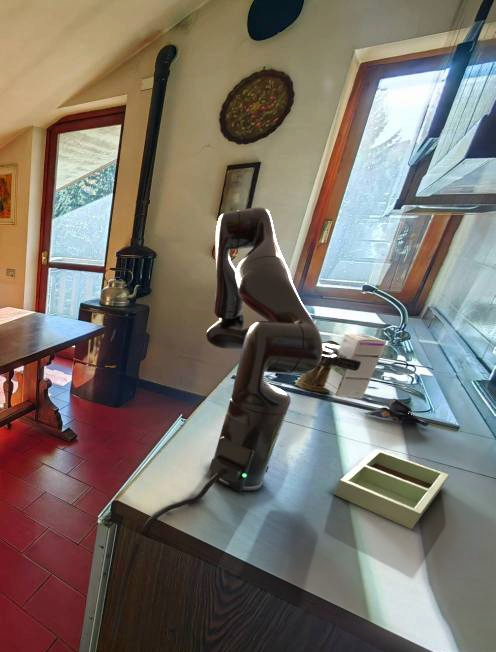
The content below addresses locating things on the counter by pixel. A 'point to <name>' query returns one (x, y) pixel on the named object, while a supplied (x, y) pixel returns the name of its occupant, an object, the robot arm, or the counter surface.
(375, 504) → the holder
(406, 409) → the snack package
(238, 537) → the counter surface
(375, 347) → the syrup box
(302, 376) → the tan boot
